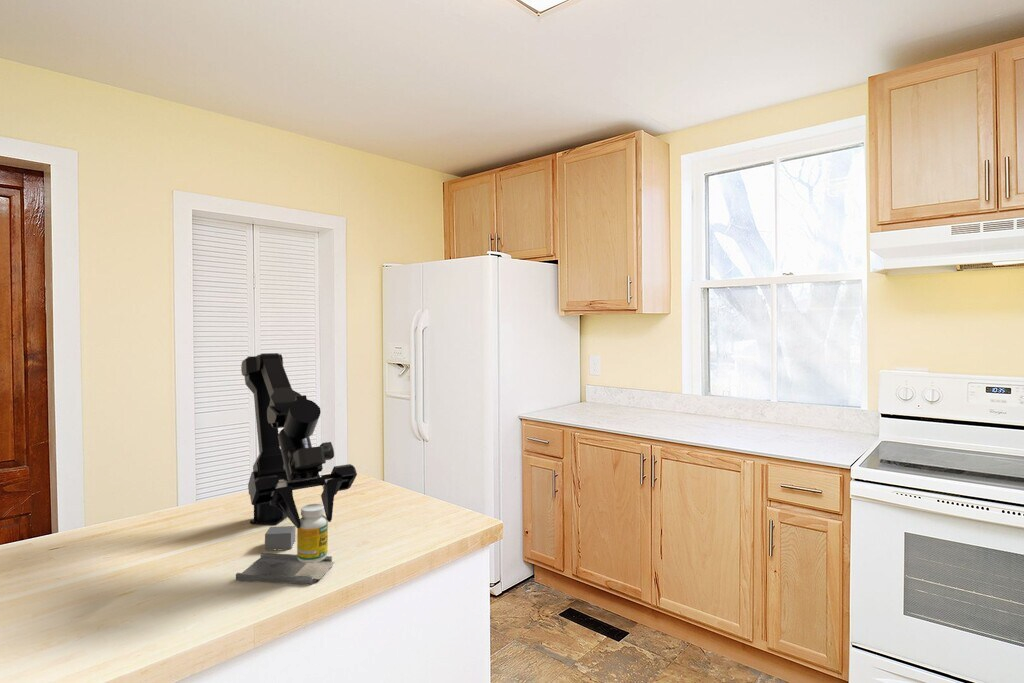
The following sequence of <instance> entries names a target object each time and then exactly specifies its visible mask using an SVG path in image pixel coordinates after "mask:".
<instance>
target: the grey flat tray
mask: <svg viewBox="0 0 1024 683" xmlns="http://www.w3.org/2000/svg"><path fill="white" fill-rule="evenodd" d="M335 563H336V562H335V561H333V557H332V556H331V555H327V557H326V558H325V559H323V560H322V561H319V562H315V563H302V562H300V561H299V560H298V558H297V554H290V553H271V552H270V553H269V552H268V553H267V552H261V553H260V557H259V558H258V559H257V560H256V561H255V562H253V563H252V564H250V565H249V566H248V567H247V568H245V570H243V571H242V572H236V573H235V581H236V580H243V581H242V582H254V581H257V583H259V582H260V583H273V582H274V583H276V584H278V583H279V584H292V585H293V584H295V585H296V584H297V585H313V584H314V583H315V581H316V580H320V579H322V578H323V577H324V575H325V574H326V573H327V572H328V571H329V570H330V569H331V567H332V566H333V565H334V564H335ZM258 581H259V582H258Z"/></svg>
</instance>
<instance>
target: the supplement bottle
mask: <svg viewBox="0 0 1024 683" xmlns="http://www.w3.org/2000/svg"><path fill="white" fill-rule="evenodd" d="M300 511H301V512H300V515H301V517H300V524H301V526H300V528H297V527H296V530H297V535H296V536H297V537H296V538H297V541H296V542H297V543H296V546H297V549H296V550H297V554H296V555H297V558H298V560H299V561H300V562H302V563H315V562H319V561H322V560H323V559H325V558H326V557H327V556H328V541H329V540H328V535H329V534H328V532H329V531H328V530H329V529H328V528H329V526H328V524H329V522H328V520H327V518H326V515H324V514H325V510H324V506H323V504H320V503H311V504H307V505H304V506H302V507H301V509H300Z"/></svg>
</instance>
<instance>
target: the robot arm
mask: <svg viewBox="0 0 1024 683" xmlns="http://www.w3.org/2000/svg"><path fill="white" fill-rule="evenodd" d="M240 366H241V375H242V377H244V383H245V385H246V387H247V388H248V389H249V391H251V393H252V394H253V401H254V409H255V410H254V412H255V420H256V421H255V422H256V423H255V424H256V429H257V430H256V433H257V434H256V435H257V443H258V455H257V458H256V459H255V462H254V463H253V465H252V472H251V474H250V476H249V480H248V484H247V489H248V495H249V497H250V503H251V505H252V506H253V518H252V519H250V520H249V523H250V524H259V525H261V524H262V525H263V524H264V525H278V524H280V523H281V522H282V521H284V520H285V519H286V518H288V520H289V521H290V522H291V523H292V524H293V526H295V528H296V529H297V528H300V526H301V524H300V519H301V517H300V515H299V513H298V508H297V506H296V502H295V499H294V494H293V491H296V490H301V489H309V488H315V487H322V490H323V491H322V492H321V495H320V497H321V501H322V502H321V503H322V505H323V506H324V514H325V517H326V518H327V520H328V523H331V522H332V519H333V512H334V511H333V510H334V509H333V508H334V500H335V496H336V495H337V494H338V492H340V491H346V490H348V489H350V488H351V487H352V486H353V483H354V481H355V479H356V477H357V475H358V472H357V470H356V467H355V466H354V465H353V464H351V463H348V464H342V465H341V464H340V465H335V466H333V468H332V470H331V472H330V473H328V474H321V475H320V474H319V472H320V473H321V472H322V471H323V464H324V465H325V464H326V463H327V462H326V461H330V460H332V459H333V458H334V457H335V451H334V449H335V448H334V446H333V443H332V441H327V442H322V443H321V444H320V445H319V446H312V441H311V439H310V437H311V436H313V434H314V431H315V429H316V428H317V425H318V422H319V419H320V417H321V416H320V415H321V408H320V406H319V405H318V404H317V403H316V402H314V401H313V400H310V399H308V398H307V395H305V394H303V395H302V394H301V393H299V392H297V391H295V390H294V389H293V388H292V385H291V381H290V380H289V378H288V375H287V372H286V370H285V367H284V359H283V356H282V354H280V353H277V352H274V353H273V352H271V353H266V352H265V353H260V354H257V355H255V356H254V355H253V356H251V355H249V356H247V357H246V358H244V360H242V361H241V365H240ZM281 428H282V429H281ZM279 429H281V430H280V431H279Z"/></svg>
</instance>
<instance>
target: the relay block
mask: <svg viewBox="0 0 1024 683" xmlns="http://www.w3.org/2000/svg"><path fill="white" fill-rule="evenodd" d="M294 542H295V543H296V526H295V525H285V526H283V525H282V526H270V527H269V528H268V530H267V531H266V532H265V534H264V551H278V549H287V550H292V549H293V547H292V546H294V545H295V543H294ZM293 544H294V545H293ZM274 549H276V550H274Z"/></svg>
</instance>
